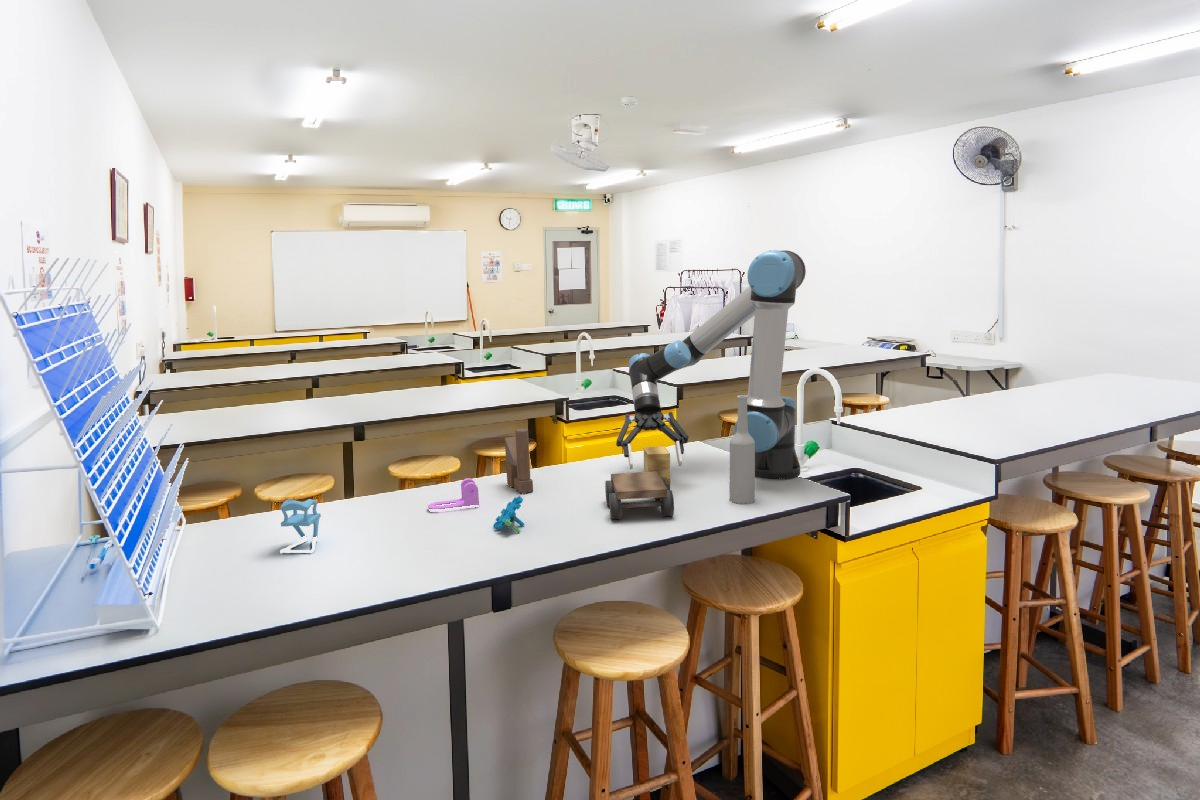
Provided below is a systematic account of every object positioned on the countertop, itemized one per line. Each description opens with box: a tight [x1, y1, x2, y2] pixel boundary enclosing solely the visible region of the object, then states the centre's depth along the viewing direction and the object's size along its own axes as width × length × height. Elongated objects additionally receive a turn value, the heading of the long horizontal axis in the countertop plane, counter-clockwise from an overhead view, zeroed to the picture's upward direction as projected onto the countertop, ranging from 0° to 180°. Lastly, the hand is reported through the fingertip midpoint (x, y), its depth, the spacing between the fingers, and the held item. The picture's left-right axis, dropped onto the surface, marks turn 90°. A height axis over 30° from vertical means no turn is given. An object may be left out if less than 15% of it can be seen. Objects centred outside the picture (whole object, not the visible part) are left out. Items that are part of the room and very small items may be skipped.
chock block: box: [643, 445, 671, 490], centre depth 202 cm, size 6×8×12 cm
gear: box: [492, 495, 525, 533], centre depth 179 cm, size 11×6×10 cm
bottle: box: [728, 394, 756, 505], centre depth 192 cm, size 7×7×28 cm
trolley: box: [604, 471, 675, 520], centre depth 189 cm, size 15×17×8 cm
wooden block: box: [504, 427, 534, 494], centre depth 209 cm, size 4×11×18 cm, turn 30°
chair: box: [280, 498, 322, 538], centre depth 170 cm, size 8×8×12 cm
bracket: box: [427, 477, 480, 509], centre depth 195 cm, size 13×6×7 cm, turn 109°
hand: (656, 465), depth 201 cm, fingers open, 13 cm apart
